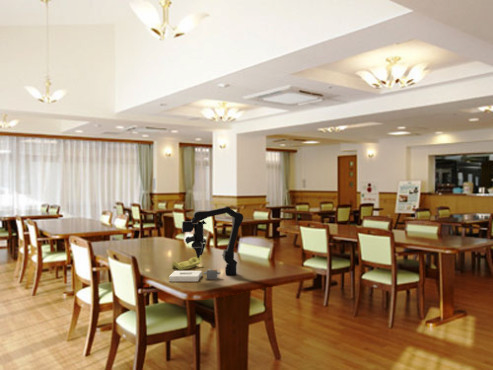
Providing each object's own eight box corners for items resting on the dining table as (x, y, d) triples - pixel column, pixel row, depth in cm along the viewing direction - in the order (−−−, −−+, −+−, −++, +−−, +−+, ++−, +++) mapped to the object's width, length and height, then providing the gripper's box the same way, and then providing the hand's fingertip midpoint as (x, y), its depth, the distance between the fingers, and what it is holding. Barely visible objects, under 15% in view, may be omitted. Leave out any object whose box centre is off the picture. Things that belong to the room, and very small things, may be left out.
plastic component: (180, 267, 276) (172, 259, 282) (178, 276, 279) (170, 268, 285) (204, 261, 290) (196, 253, 296) (202, 270, 292) (193, 262, 298)
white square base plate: (201, 275, 261) (201, 270, 261) (197, 281, 245) (197, 276, 245) (174, 275, 262) (174, 270, 262) (169, 281, 246) (169, 276, 246)
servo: (220, 277, 255) (220, 268, 255) (220, 279, 251) (219, 269, 251) (204, 277, 255) (204, 268, 255) (203, 279, 251) (203, 269, 251)
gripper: (189, 230, 269) (189, 254, 269) (182, 233, 250) (183, 259, 250) (206, 229, 268) (207, 253, 268) (201, 233, 249) (202, 259, 249)
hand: (199, 256), depth 259 cm, fingers open, 9 cm apart
